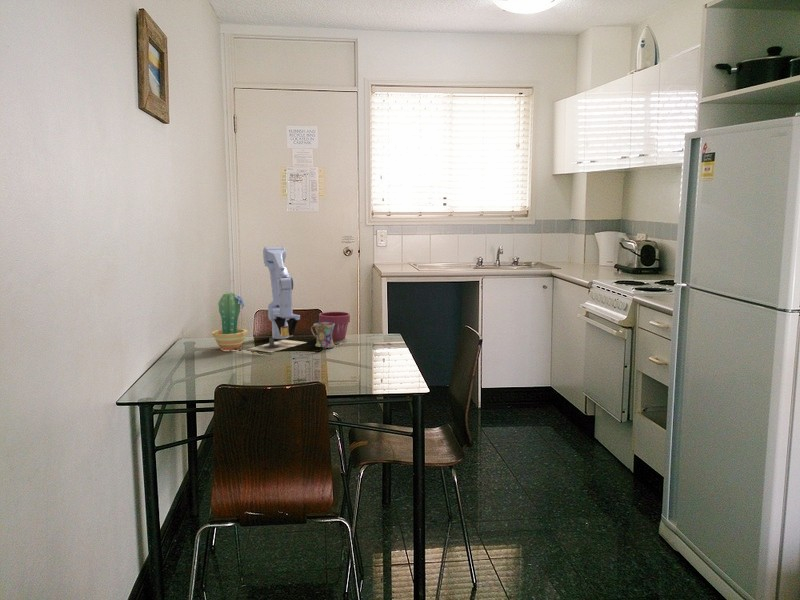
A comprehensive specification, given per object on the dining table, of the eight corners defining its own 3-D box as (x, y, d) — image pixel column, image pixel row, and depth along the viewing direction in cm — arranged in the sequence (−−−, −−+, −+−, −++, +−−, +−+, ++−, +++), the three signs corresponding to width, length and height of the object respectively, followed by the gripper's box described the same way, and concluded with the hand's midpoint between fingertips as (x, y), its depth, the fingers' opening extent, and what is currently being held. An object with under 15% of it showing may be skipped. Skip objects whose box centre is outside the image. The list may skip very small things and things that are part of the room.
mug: (339, 346, 302) (338, 323, 301) (326, 350, 294) (326, 326, 293) (318, 344, 308) (317, 321, 307) (305, 347, 300) (304, 324, 299)
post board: (284, 342, 314) (283, 330, 313) (307, 344, 307) (307, 333, 306) (247, 351, 294) (246, 339, 293) (271, 354, 286) (271, 342, 286)
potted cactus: (232, 354, 289) (230, 295, 285) (204, 351, 295) (201, 294, 292) (255, 347, 303) (253, 291, 299) (228, 344, 309) (225, 290, 306)
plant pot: (356, 339, 318) (355, 312, 316) (338, 345, 306) (337, 317, 304) (332, 337, 325) (331, 310, 324) (313, 342, 313) (312, 314, 312)
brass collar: (286, 334, 308) (286, 325, 308) (294, 335, 306) (294, 326, 305) (278, 336, 304) (278, 327, 303) (287, 337, 301) (287, 328, 301)
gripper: (267, 304, 303) (268, 334, 305) (292, 306, 296) (293, 337, 298) (278, 302, 309) (279, 331, 311) (302, 304, 302) (303, 334, 304)
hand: (286, 334), depth 305 cm, fingers closed on brass collar, 5 cm apart
